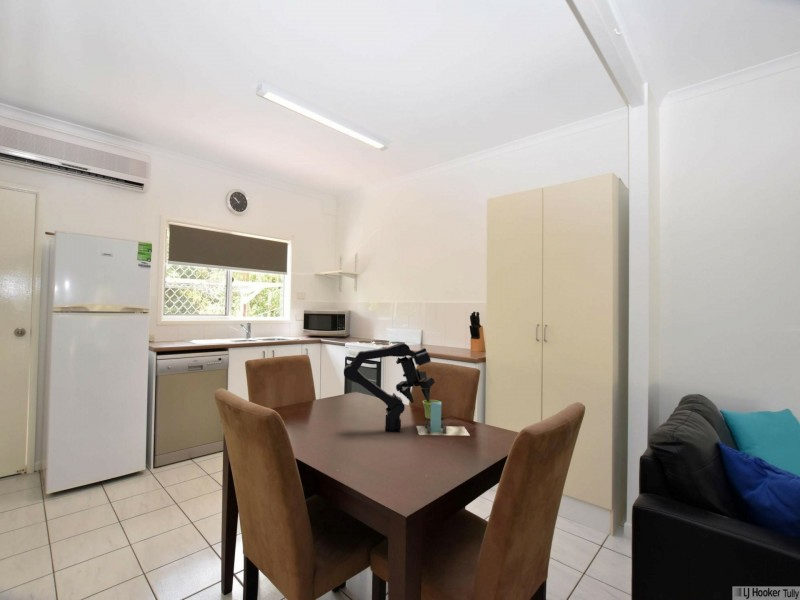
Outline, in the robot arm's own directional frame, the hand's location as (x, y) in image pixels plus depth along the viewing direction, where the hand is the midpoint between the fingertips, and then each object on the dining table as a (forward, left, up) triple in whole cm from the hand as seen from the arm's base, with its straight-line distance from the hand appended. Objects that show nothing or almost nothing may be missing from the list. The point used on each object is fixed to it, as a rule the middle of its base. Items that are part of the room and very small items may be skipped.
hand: (420, 402), depth 170 cm
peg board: (+9, -4, -12) cm, 16 cm away
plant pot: (+7, +16, -13) cm, 21 cm away
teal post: (+6, -4, -11) cm, 14 cm away
